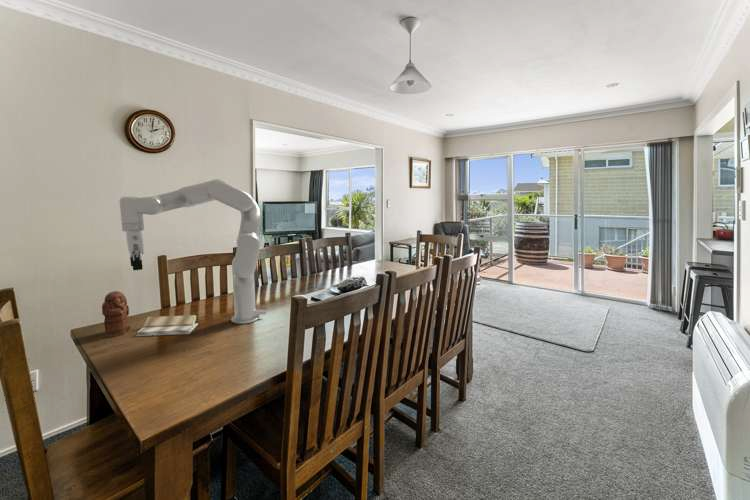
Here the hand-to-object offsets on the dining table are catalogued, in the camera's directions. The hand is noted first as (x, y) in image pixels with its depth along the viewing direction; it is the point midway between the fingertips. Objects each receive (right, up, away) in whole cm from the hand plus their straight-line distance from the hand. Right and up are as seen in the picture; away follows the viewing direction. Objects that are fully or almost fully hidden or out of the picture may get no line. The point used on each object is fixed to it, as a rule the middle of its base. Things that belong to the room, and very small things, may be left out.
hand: (136, 267), depth 151 cm
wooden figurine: (-10, -28, +4) cm, 30 cm away
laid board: (+10, -28, +4) cm, 30 cm away
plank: (+9, -25, +10) cm, 28 cm away
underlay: (+9, -28, +7) cm, 30 cm away
